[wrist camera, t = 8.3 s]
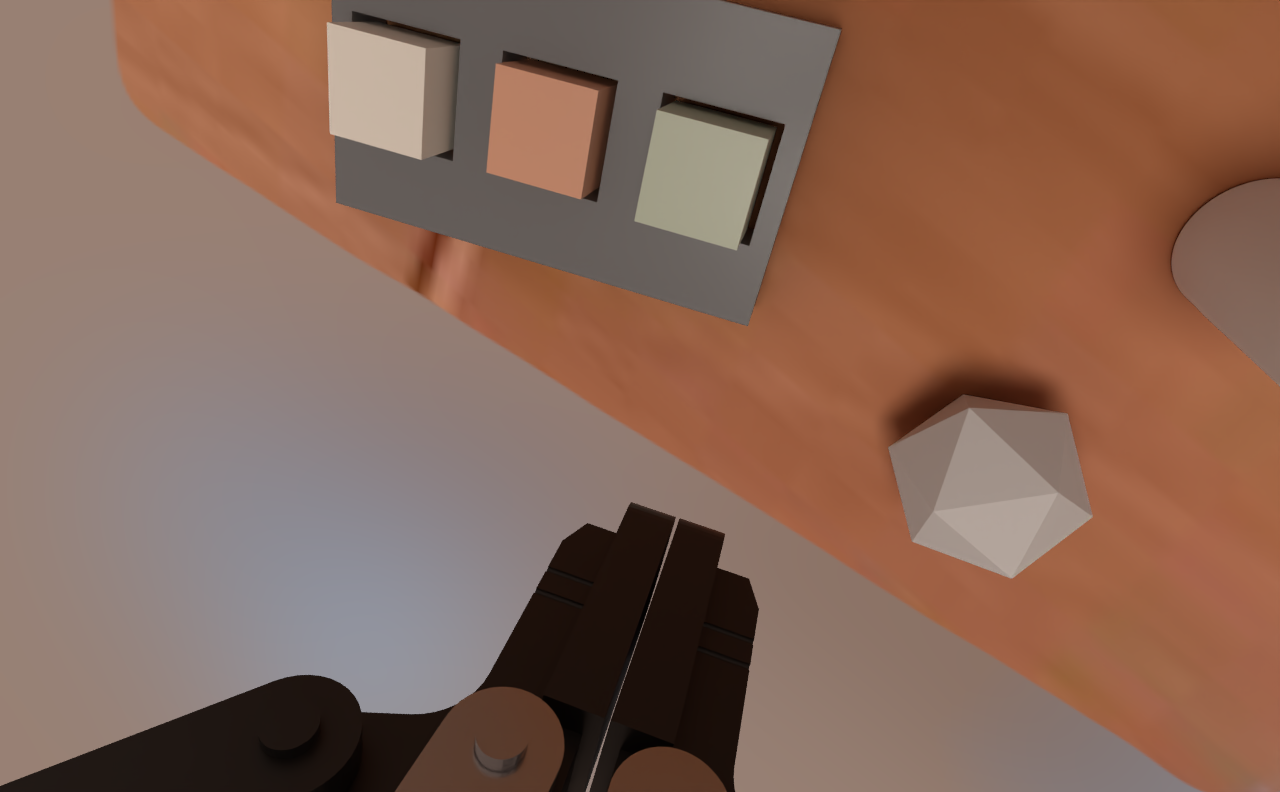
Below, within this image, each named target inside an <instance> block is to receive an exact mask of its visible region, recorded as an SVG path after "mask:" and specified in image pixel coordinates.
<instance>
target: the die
mask: <svg viewBox="0 0 1280 792" xmlns="http://www.w3.org/2000/svg"><path fill="white" fill-rule="evenodd" d="M888 449H889V453H890V457H891V461H892V465H893V468H894V472H895V476H896V480H897V484H898V488H899V492H900V496H901V500H902V504H903V508H904V512H905V516H906V520H907V524H908V528H909V532H910V536H911V540H912V542H915V543H917V544H920V545H923V546H925V547H928V548H931V549H933V550H936V551H939V552H941V553H944V554H947V555H950V556H952V557H955V558H958V559H960V560H963V561H966V562H968V563H971V564H974V565H976V566H979V567H982V568H985V569H987V570H990V571H993V572H995V573H998V574H1001V575H1003V576H1006V577H1009V578H1011V579H1012V578H1013V577H1015V576H1016V575H1017V574H1019V573H1020V572H1021V571H1022V570H1024V569H1025V568H1026V567H1028V566H1029V565H1030V564H1032V563H1033V562H1034V561H1036V560H1037V559H1038V558H1040V557H1041V556H1042V555H1043V554H1045V553H1046V552H1047V551H1049V550H1050V549H1051V548H1053V547H1054V546H1055V545H1057V544H1058V543H1059V542H1061V541H1062V540H1063V539H1064V538H1066V537H1067V536H1068V535H1070V534H1071V533H1072V532H1074V531H1075V530H1076V529H1078V528H1079V527H1080V526H1082V525H1083V524H1084V523H1085V522H1087V521H1088V520H1089V519H1091V518H1092V517H1093V516H1092V512H1091V508H1090V503H1089V499H1088V495H1087V491H1086V487H1085V483H1084V479H1083V475H1082V471H1081V467H1080V462H1079V458H1078V454H1077V450H1076V446H1075V442H1074V438H1073V434H1072V430H1071V426H1070V422H1069V417H1068V414H1067V413H1062V412H1057V411H1051V410H1046V409H1040V408H1035V407H1029V406H1024V405H1019V404H1013V403H1008V402H1002V401H997V400H991V399H986V398H981V397H975V396H970V395H964V394H963V395H962V396H960V397H959V398H957V399H956V400H955V401H953V402H952V403H950V404H949V405H947V406H946V407H945V408H943V409H942V410H940V411H939V412H938V413H936V414H935V415H933V416H932V417H930V418H929V419H928V420H926V421H925V422H923V423H922V424H921V425H919V426H918V427H916V428H915V429H913V430H912V431H911V432H909V433H908V434H906V435H905V436H903V437H902V438H901V439H899V440H898V441H896V442H895V443H894V444H892V445H891V446H889V447H888Z"/></svg>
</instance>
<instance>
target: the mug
mask: <svg viewBox="0 0 1280 792" xmlns="http://www.w3.org/2000/svg"><path fill="white" fill-rule="evenodd" d="M1171 267H1172V274H1173V277H1174V280H1175V283H1176V285H1177V287H1178V288H1179V290H1180V291H1181V293H1182V294H1183V295H1184V296H1185V297H1186V298H1187V299H1188V300H1189V301H1190V302H1191V303H1192V304H1193V305H1194V306H1195V307H1196V308H1197V309H1198V310H1199V311H1200V312H1201V313H1202V314H1203V315H1204V316H1205V317H1206V318H1207V319H1208V320H1209V321H1210V322H1211V323H1212V324H1213V325H1215V326H1216V327H1217V328H1218V329H1219V330H1220V331H1221V332H1222V333H1223V334H1224V335H1225V336H1227V337H1228V338H1229V339H1230V340H1231V341H1232V342H1233V343H1234V344H1235V345H1236V346H1237V347H1238V348H1239V349H1240V350H1242V351H1243V352H1244V353H1245V354H1246V355H1247V356H1248V357H1249V358H1250V359H1251V360H1252V361H1253V362H1254V363H1255V364H1256V365H1258V366H1259V367H1260V368H1261V369H1262V370H1263V371H1264V372H1265V373H1266V374H1267V375H1268V376H1269V377H1270V378H1271V379H1272V380H1273V381H1275V382H1276V383H1277V384H1278V385H1279V386H1280V178H1274V179H1264V180H1258V181H1253V182H1249V183H1246V184H1243V185H1240V186H1237V187H1234V188H1232V189H1230V190H1228V191H1226V192H1224V193H1222V194H1220V195H1218V196H1217V197H1215V198H1214V199H1212V200H1211V201H1209V202H1208V203H1206V204H1205V205H1204V206H1203V207H1202V208H1200V209H1199V210H1198V211H1197V212H1196V213H1195V214H1194V215H1193V216H1192V217H1191V218H1190V220H1189V221H1188V222H1187V223H1186V225H1185V226H1184V227H1183V229H1182V231H1181V232H1180V234H1179V236H1178V238H1177V240H1176V243H1175V245H1174V249H1173V253H1172V260H1171Z"/></svg>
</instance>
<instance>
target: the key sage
mask: <svg viewBox="0 0 1280 792" xmlns="http://www.w3.org/2000/svg"><path fill="white" fill-rule="evenodd" d="M776 129H777V127H776V126H772V125H768V124H765V123H761V122H757V121H753V120H749V119H746V118H742V117H738V116H734V115H730V114H727V113H723V112H719V111H715V110H711V109H708V108H704V107H700V106H696V105H692V104H689V103H685V102H681V101H677V100H676V101H674V102H672V103H670V104H668V105H666V106H664V107H662V108H660V109H658V110H657V111H656V116H655V121H654V126H653V131H652V136H651V141H650V146H649V151H648V156H647V161H646V165H645V170H644V175H643V180H642V185H641V190H640V195H639V200H638V205H637V210H636V215H635V220H634V221H635V222H639V223H642V224H646V225H649V226H653V227H656V228H660V229H663V230H667V231H670V232H674V233H677V234H681V235H684V236H688V237H691V238H695V239H698V240H702V241H705V242H709V243H712V244H716V245H719V246H722V247H726V248H729V249H733V250H736V251H737V249H738V247H739V245H740V243H741V241H742V239H743V237H744V235H745V233H746V231H747V228H748V225H749V222H750V218H751V215H752V212H753V208H754V205H755V201H756V198H757V194H758V191H759V188H760V184H761V181H762V177H763V174H764V170H765V167H766V164H767V160H768V157H769V153H770V150H771V146H772V143H773V140H774V136H775V133H776Z"/></svg>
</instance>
